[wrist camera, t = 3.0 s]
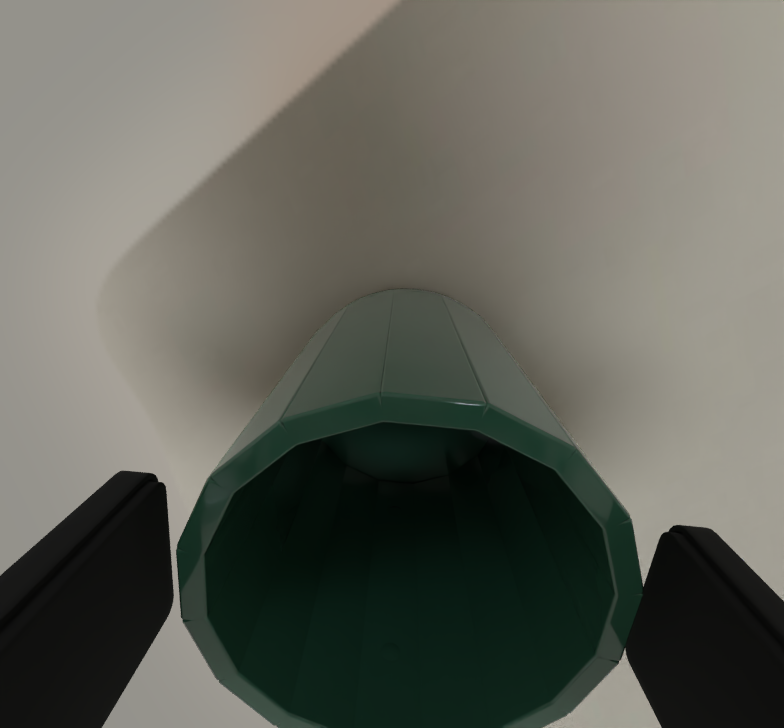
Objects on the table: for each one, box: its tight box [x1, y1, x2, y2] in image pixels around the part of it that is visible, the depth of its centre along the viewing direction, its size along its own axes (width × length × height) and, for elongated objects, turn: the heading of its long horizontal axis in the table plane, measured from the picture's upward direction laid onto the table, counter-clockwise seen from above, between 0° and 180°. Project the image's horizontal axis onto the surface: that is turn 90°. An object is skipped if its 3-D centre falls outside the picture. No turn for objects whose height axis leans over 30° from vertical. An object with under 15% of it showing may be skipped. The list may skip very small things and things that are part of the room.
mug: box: [176, 288, 644, 728], centre depth 12 cm, size 10×7×9 cm
